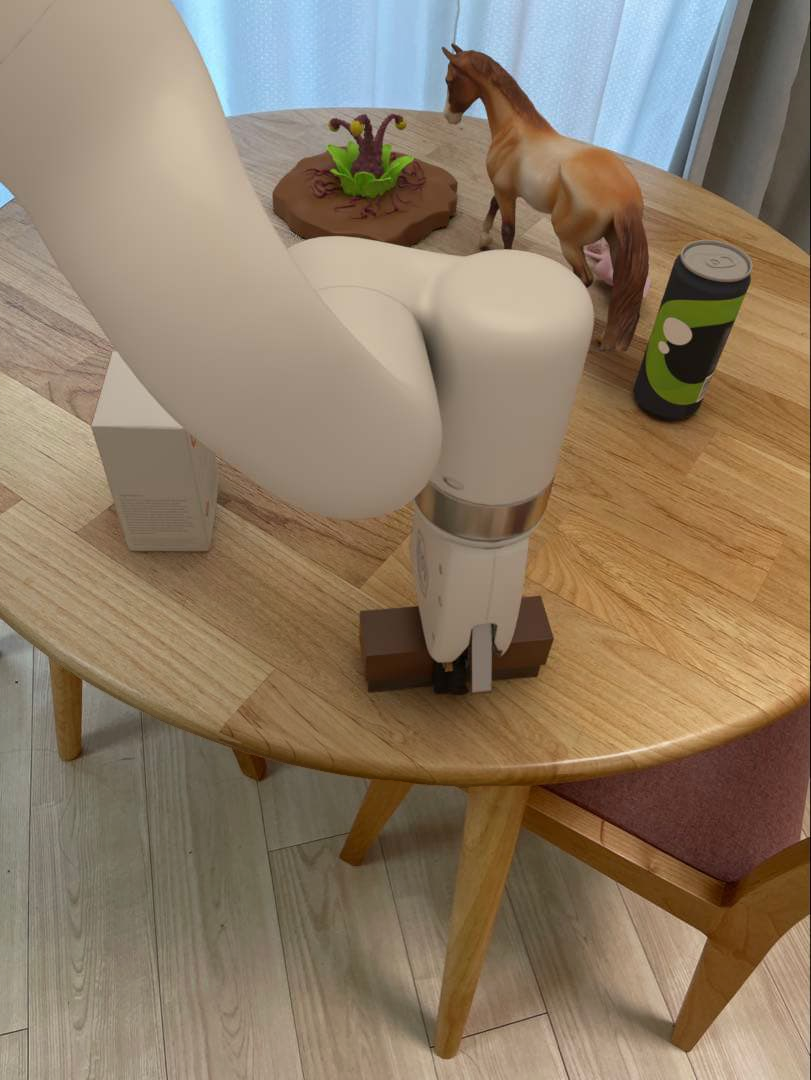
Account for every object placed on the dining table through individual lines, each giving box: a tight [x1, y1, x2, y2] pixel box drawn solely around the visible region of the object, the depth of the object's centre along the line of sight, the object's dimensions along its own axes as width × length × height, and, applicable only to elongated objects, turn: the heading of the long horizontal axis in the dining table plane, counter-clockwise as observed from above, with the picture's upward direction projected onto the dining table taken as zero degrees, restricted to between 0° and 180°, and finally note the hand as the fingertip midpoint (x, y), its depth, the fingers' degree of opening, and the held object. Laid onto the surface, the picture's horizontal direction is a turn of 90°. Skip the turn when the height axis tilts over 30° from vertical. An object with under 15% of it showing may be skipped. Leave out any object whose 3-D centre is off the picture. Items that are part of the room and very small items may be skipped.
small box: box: [90, 350, 220, 552], centre depth 65 cm, size 8×6×13 cm
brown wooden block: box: [358, 595, 555, 693], centre depth 60 cm, size 12×4×5 cm, turn 98°
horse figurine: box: [441, 42, 650, 353], centre depth 83 cm, size 31×8×21 cm, turn 32°
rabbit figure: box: [583, 237, 652, 299], centre depth 92 cm, size 6×6×15 cm
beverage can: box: [633, 239, 754, 421], centre depth 76 cm, size 6×6×15 cm
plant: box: [271, 113, 459, 247], centre depth 97 cm, size 20×20×11 cm
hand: (450, 660), depth 61 cm, fingers closed on brown wooden block, 3 cm apart
